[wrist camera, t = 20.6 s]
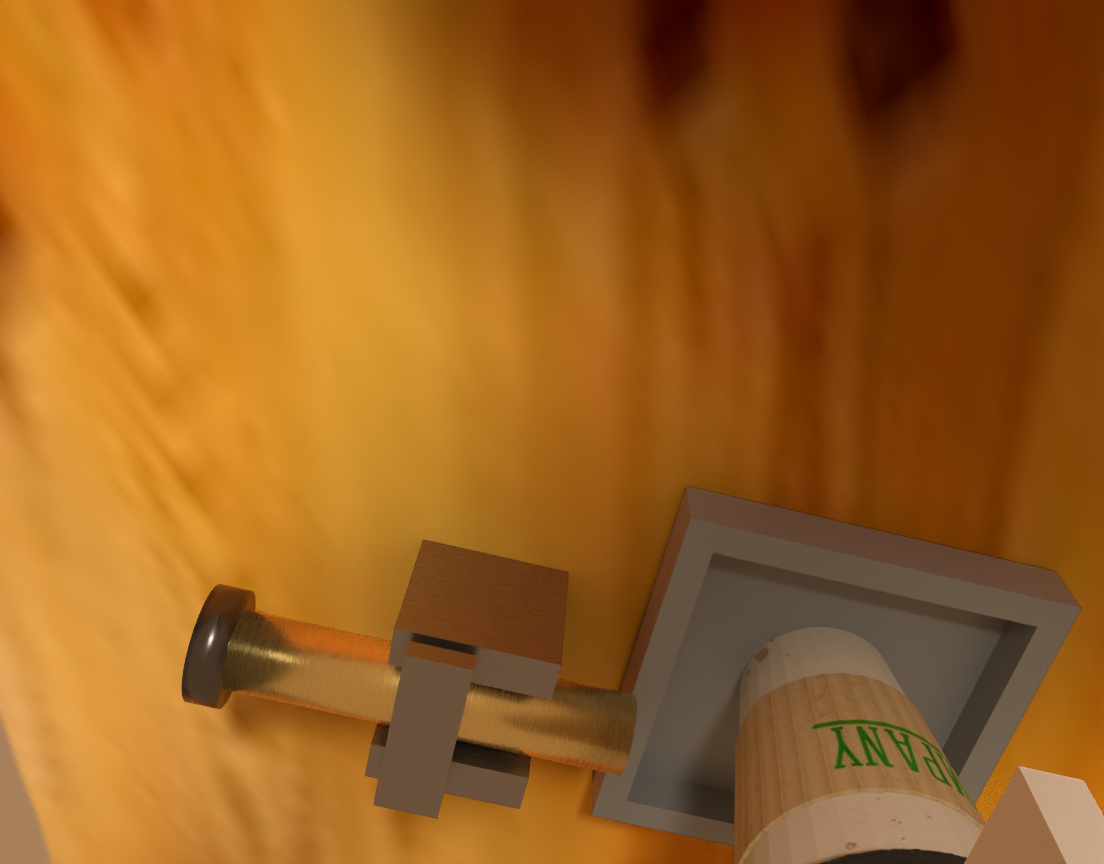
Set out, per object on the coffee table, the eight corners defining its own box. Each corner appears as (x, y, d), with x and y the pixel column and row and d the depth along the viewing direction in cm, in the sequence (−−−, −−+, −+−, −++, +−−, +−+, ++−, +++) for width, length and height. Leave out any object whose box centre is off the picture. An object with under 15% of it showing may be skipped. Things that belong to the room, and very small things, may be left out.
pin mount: (423, 539, 42) (387, 651, 35) (568, 572, 42) (559, 689, 36) (395, 675, 45) (357, 801, 38) (530, 705, 45) (516, 835, 39)
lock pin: (229, 562, 40) (186, 630, 36) (640, 653, 41) (643, 730, 37) (219, 652, 42) (177, 727, 38) (612, 738, 43) (611, 820, 39)
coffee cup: (960, 746, 44) (1113, 1103, 31) (735, 802, 46) (785, 1160, 33) (904, 558, 40) (1050, 869, 27) (662, 628, 42) (685, 950, 29)
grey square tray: (686, 486, 40) (690, 518, 38) (1056, 571, 41) (1081, 608, 39) (592, 773, 47) (591, 815, 44) (914, 843, 47) (929, 888, 45)
